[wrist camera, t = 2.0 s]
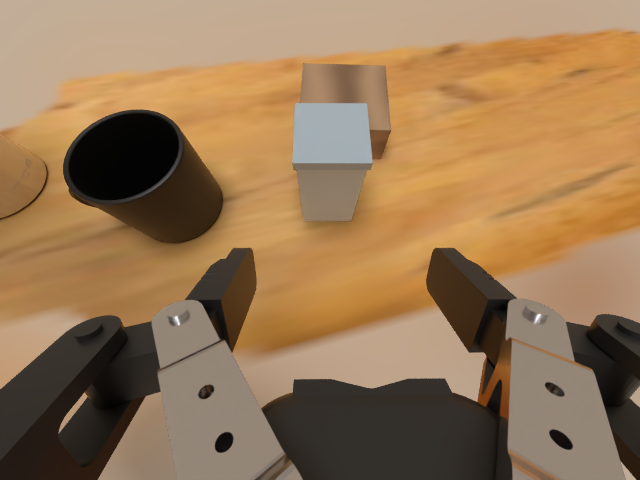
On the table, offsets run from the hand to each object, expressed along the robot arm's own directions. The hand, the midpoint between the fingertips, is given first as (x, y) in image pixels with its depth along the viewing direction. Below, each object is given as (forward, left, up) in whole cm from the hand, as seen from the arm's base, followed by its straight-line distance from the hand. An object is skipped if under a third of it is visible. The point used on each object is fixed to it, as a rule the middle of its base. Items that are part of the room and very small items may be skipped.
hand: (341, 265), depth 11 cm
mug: (-18, +10, -15) cm, 26 cm away
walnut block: (+2, +22, -15) cm, 27 cm away
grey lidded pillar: (0, +11, -15) cm, 19 cm away
